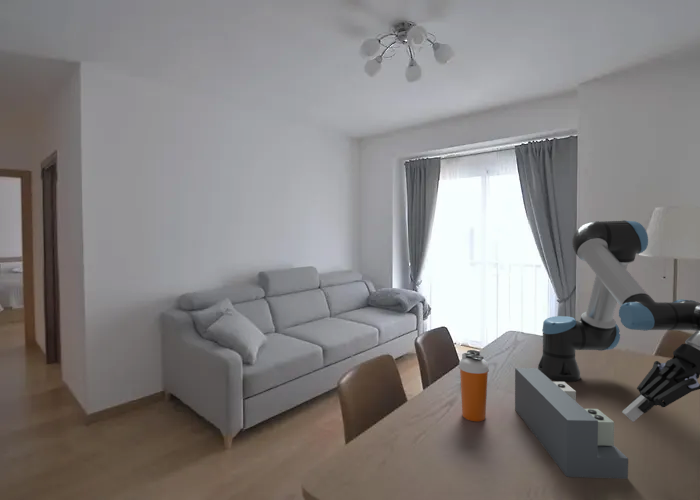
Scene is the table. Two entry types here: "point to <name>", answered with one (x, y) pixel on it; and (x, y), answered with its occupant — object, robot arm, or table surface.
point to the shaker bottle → (473, 386)
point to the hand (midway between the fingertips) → (627, 416)
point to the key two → (603, 427)
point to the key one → (567, 389)
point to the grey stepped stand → (565, 428)
